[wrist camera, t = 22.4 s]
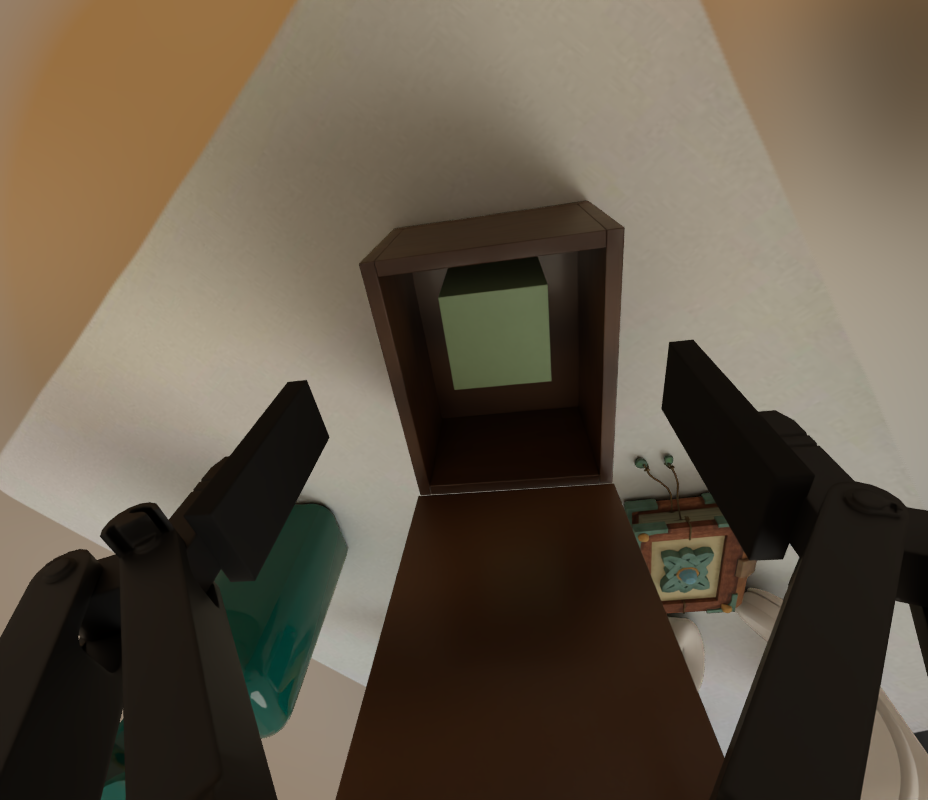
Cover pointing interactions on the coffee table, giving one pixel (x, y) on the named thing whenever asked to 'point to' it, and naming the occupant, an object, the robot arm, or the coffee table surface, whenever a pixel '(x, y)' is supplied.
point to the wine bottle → (891, 759)
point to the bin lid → (528, 661)
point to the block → (496, 323)
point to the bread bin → (509, 406)
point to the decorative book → (690, 551)
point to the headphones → (761, 617)
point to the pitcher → (273, 622)
